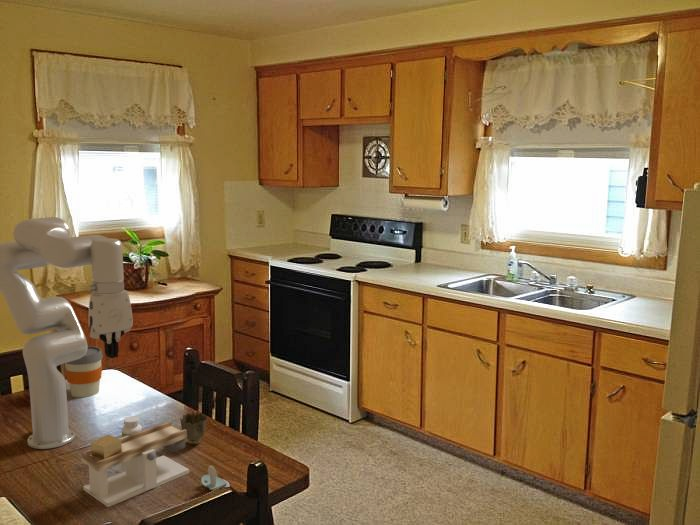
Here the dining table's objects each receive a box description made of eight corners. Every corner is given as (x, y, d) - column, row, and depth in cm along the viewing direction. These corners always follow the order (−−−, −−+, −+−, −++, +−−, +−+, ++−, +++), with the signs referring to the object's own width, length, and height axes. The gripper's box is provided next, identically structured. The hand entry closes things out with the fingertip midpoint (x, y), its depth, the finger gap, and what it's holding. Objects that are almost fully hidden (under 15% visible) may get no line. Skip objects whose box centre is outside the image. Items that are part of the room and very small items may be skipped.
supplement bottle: (121, 456, 182) (119, 423, 181) (124, 448, 187) (122, 415, 186) (141, 455, 183) (139, 422, 181) (144, 447, 188) (142, 414, 187)
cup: (200, 450, 187) (199, 423, 185) (176, 447, 188) (175, 421, 187) (211, 438, 194) (210, 413, 193) (188, 436, 195) (187, 411, 194)
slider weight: (91, 457, 160) (90, 441, 160) (109, 449, 164) (108, 434, 164) (104, 462, 158) (103, 447, 157) (122, 454, 162) (121, 439, 161)
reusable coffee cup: (80, 402, 221) (77, 359, 218) (58, 394, 228) (55, 352, 225) (112, 391, 231) (109, 349, 229) (89, 383, 238) (87, 343, 235)
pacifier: (217, 478, 171) (198, 486, 167) (218, 455, 170) (198, 463, 166) (235, 488, 166) (215, 496, 162) (235, 465, 165) (215, 472, 161)
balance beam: (98, 483, 156) (97, 463, 155) (82, 472, 161) (80, 452, 160) (187, 448, 175) (186, 429, 174) (170, 439, 180) (169, 421, 179)
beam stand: (110, 508, 156) (108, 469, 154) (81, 488, 165) (79, 451, 163) (191, 474, 173) (190, 438, 171) (161, 457, 182) (160, 423, 180)
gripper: (87, 294, 159) (91, 366, 162) (142, 285, 170) (145, 353, 173) (72, 289, 164) (77, 360, 167) (127, 281, 175) (130, 347, 178)
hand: (111, 356), depth 170 cm, fingers closed
